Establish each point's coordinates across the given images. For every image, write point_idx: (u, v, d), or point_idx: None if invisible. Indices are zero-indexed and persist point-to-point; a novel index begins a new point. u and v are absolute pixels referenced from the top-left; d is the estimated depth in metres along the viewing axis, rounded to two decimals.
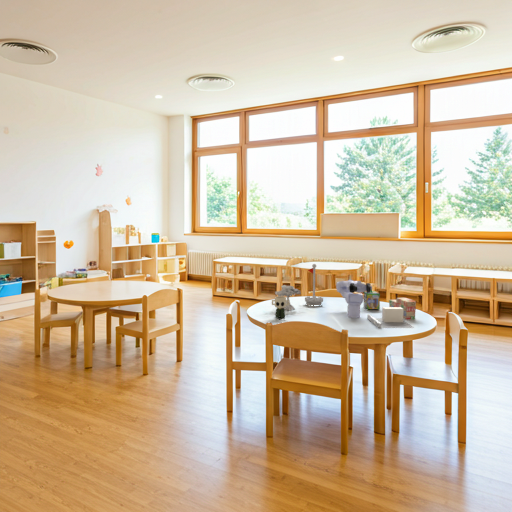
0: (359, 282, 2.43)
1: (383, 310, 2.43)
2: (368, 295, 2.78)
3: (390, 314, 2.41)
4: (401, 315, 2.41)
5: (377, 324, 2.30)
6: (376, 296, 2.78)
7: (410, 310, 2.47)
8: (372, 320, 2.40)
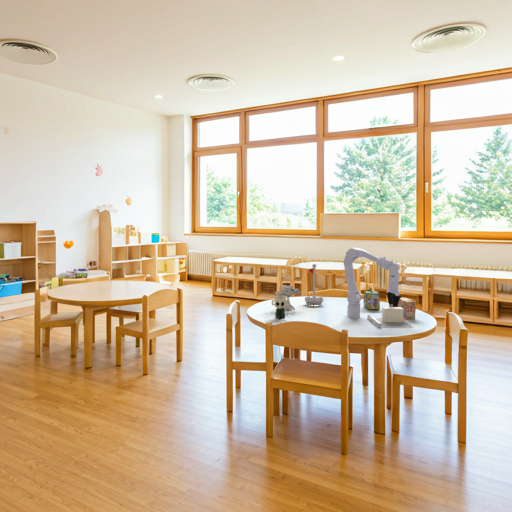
0: None
1: (383, 310, 2.43)
2: (368, 295, 2.78)
3: (390, 314, 2.41)
4: (401, 315, 2.41)
5: (377, 324, 2.30)
6: (376, 296, 2.78)
7: (410, 310, 2.48)
8: (372, 320, 2.40)
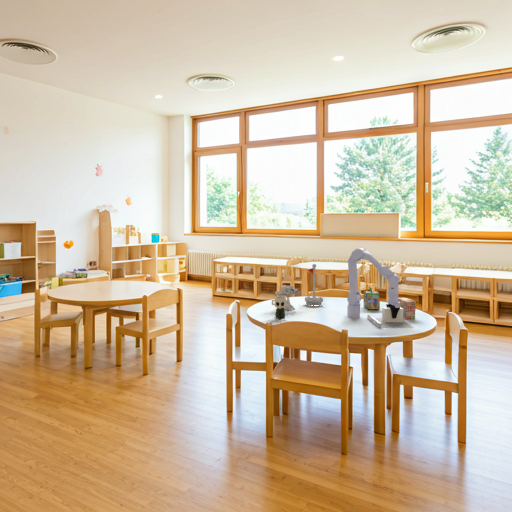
0: None
1: (383, 310, 2.43)
2: (368, 295, 2.78)
3: (390, 314, 2.40)
4: (401, 315, 2.41)
5: (377, 324, 2.30)
6: (376, 296, 2.78)
7: (410, 310, 2.48)
8: (372, 320, 2.40)
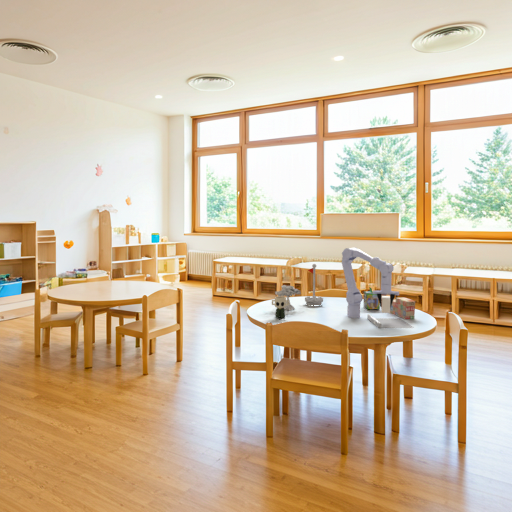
0: None
1: (385, 301, 2.34)
2: (368, 295, 2.78)
3: None
4: None
5: (377, 324, 2.30)
6: (376, 296, 2.78)
7: (409, 310, 2.48)
8: (372, 320, 2.40)
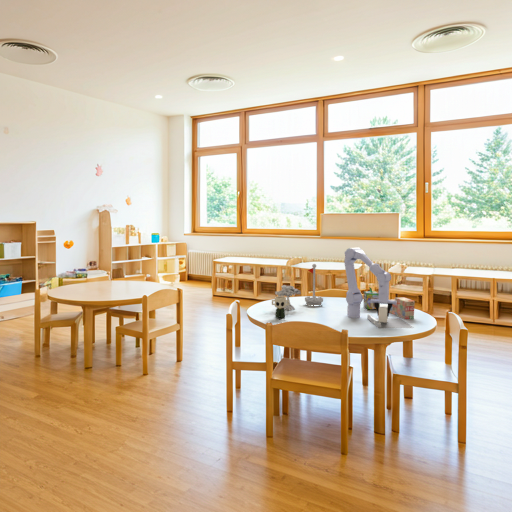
0: None
1: (382, 311, 2.33)
2: (368, 295, 2.78)
3: None
4: None
5: (377, 324, 2.30)
6: (376, 296, 2.78)
7: (408, 310, 2.48)
8: (372, 320, 2.40)
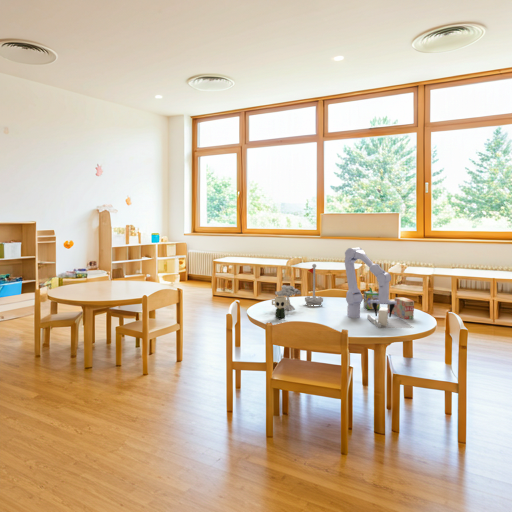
0: None
1: (382, 314, 2.34)
2: (368, 295, 2.78)
3: None
4: None
5: (377, 324, 2.30)
6: (376, 296, 2.78)
7: (408, 310, 2.48)
8: (372, 320, 2.40)
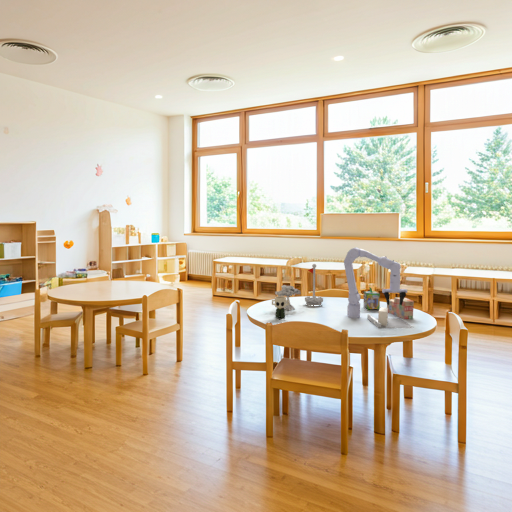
0: None
1: (382, 314, 2.34)
2: (368, 295, 2.78)
3: None
4: None
5: (377, 324, 2.30)
6: (376, 296, 2.78)
7: (407, 310, 2.49)
8: (372, 320, 2.40)
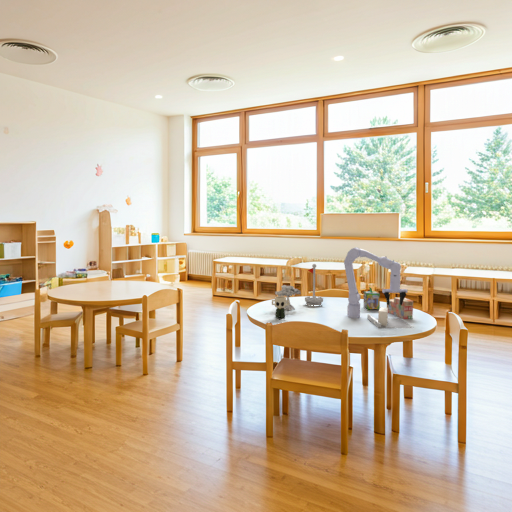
0: None
1: (382, 314, 2.34)
2: (368, 295, 2.78)
3: None
4: None
5: (377, 324, 2.30)
6: (376, 296, 2.78)
7: (407, 310, 2.49)
8: (372, 320, 2.40)
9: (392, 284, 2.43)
